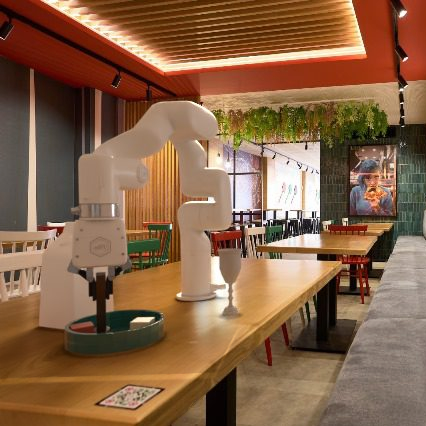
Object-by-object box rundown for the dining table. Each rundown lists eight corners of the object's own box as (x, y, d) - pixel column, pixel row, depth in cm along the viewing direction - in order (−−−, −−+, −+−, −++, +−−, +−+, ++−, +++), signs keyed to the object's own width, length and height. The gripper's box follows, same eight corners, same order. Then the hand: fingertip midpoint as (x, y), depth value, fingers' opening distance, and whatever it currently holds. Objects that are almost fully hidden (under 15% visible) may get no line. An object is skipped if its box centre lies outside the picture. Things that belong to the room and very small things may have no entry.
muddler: (109, 329, 89) (109, 270, 85) (110, 336, 86) (109, 276, 83) (93, 331, 87) (92, 271, 84) (93, 339, 84) (91, 277, 81)
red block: (94, 344, 84) (94, 325, 84) (72, 348, 82) (72, 329, 82) (91, 339, 87) (91, 321, 87) (70, 343, 85) (69, 324, 85)
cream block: (129, 340, 86) (129, 322, 86) (137, 334, 90) (137, 317, 90) (148, 340, 87) (148, 321, 87) (155, 334, 91) (155, 316, 90)
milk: (114, 320, 105) (113, 221, 104) (75, 333, 94) (73, 223, 93) (80, 316, 109) (79, 221, 108) (38, 328, 98) (37, 222, 97)
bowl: (158, 323, 102) (158, 305, 101) (171, 346, 84) (171, 325, 84) (67, 335, 92) (67, 316, 92) (61, 364, 75) (61, 340, 75)
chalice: (220, 312, 112) (219, 248, 112) (244, 311, 112) (244, 248, 112) (215, 319, 105) (215, 251, 104) (241, 318, 105) (241, 251, 105)
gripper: (53, 213, 77) (55, 307, 78) (142, 212, 85) (143, 298, 85) (56, 213, 84) (58, 300, 84) (138, 212, 92) (139, 291, 92)
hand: (101, 298), depth 85 cm, fingers closed on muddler
